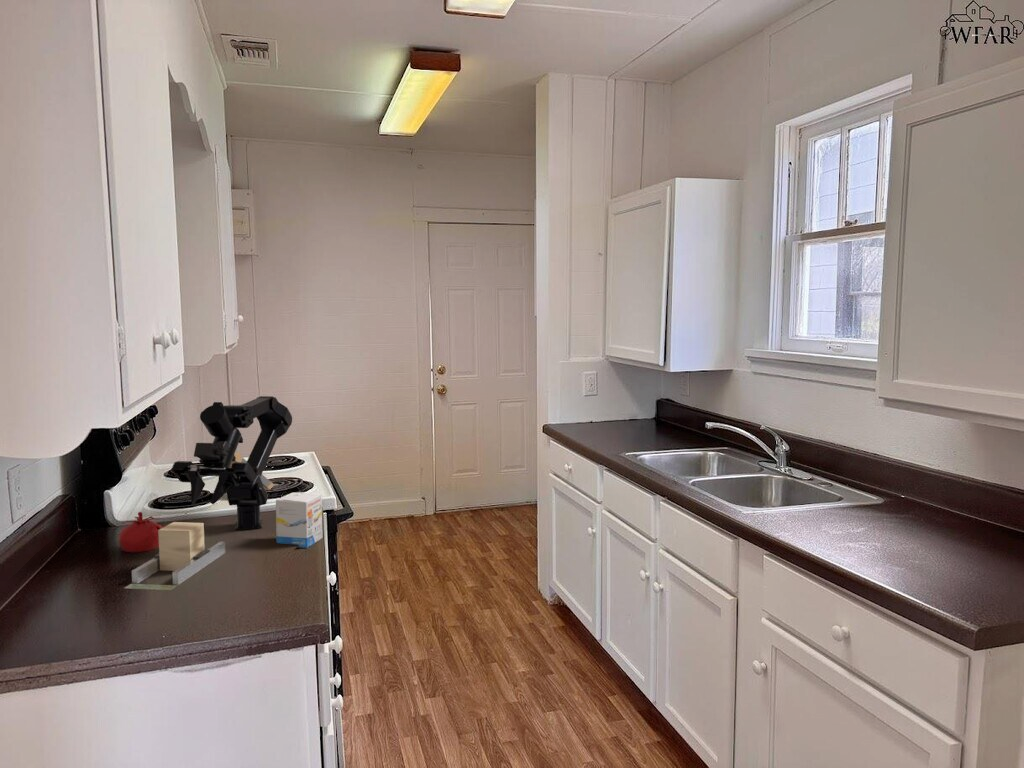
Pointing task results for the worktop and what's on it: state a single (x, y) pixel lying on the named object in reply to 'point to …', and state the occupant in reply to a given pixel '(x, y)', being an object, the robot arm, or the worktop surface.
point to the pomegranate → (140, 535)
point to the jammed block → (180, 544)
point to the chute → (179, 574)
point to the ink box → (299, 519)
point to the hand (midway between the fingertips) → (202, 503)
